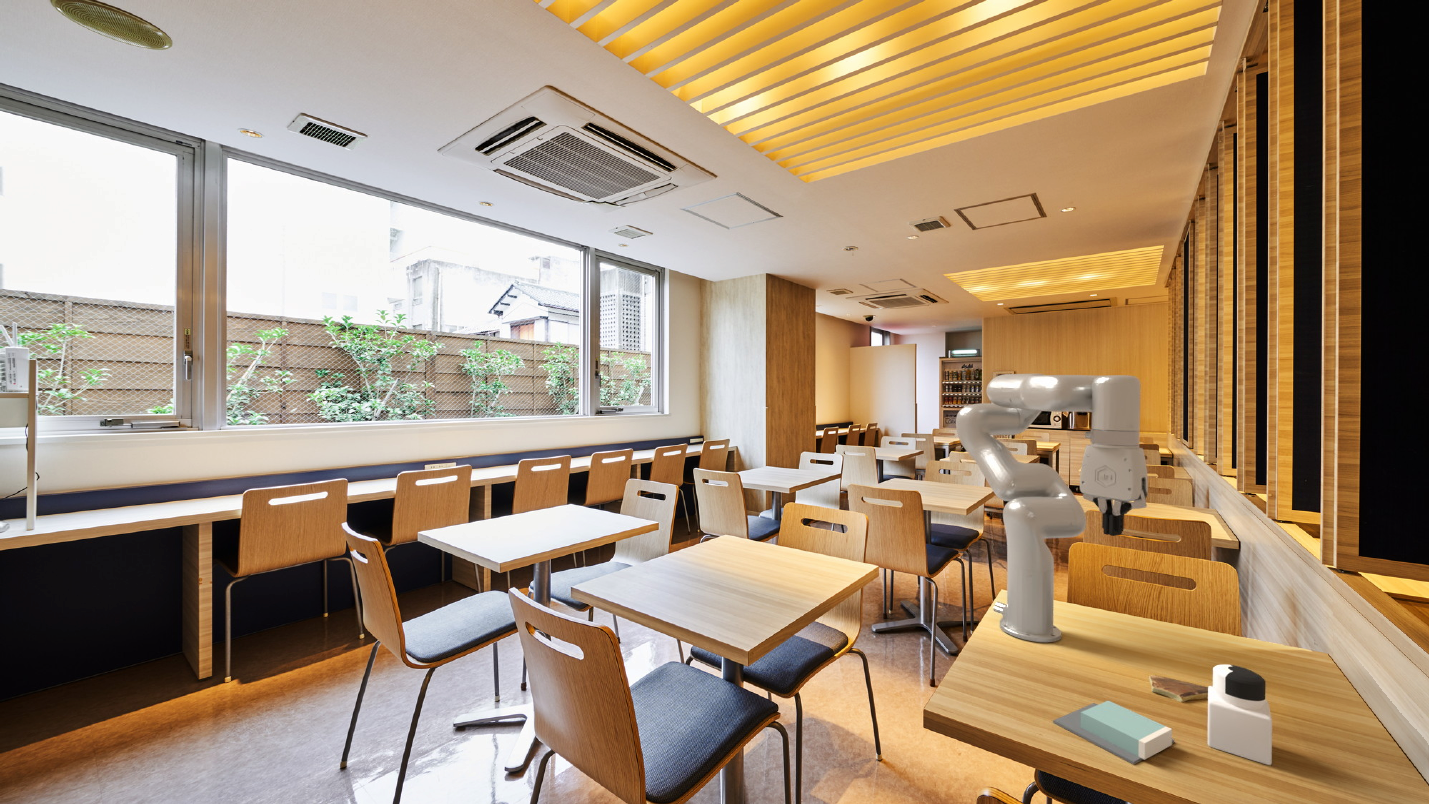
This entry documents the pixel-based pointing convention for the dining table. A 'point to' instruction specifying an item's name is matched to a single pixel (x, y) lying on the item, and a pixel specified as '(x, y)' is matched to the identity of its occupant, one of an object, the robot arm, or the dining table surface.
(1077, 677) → the dining table surface
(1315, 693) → the dining table surface
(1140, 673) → the dining table surface
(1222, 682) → the medicine bottle
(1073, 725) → the mat
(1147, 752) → the slab
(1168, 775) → the dining table surface
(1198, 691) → the shard
